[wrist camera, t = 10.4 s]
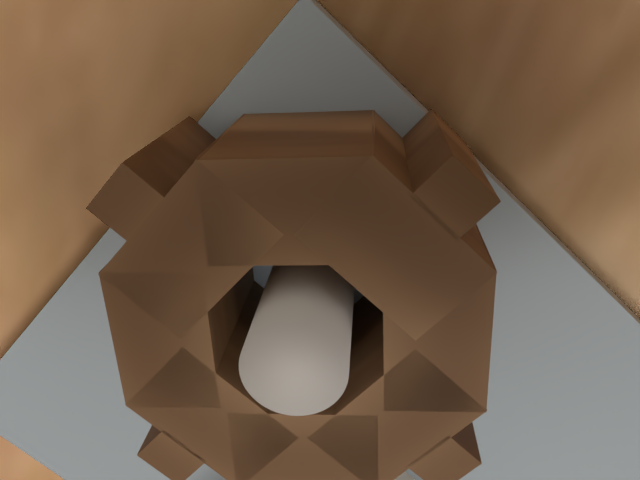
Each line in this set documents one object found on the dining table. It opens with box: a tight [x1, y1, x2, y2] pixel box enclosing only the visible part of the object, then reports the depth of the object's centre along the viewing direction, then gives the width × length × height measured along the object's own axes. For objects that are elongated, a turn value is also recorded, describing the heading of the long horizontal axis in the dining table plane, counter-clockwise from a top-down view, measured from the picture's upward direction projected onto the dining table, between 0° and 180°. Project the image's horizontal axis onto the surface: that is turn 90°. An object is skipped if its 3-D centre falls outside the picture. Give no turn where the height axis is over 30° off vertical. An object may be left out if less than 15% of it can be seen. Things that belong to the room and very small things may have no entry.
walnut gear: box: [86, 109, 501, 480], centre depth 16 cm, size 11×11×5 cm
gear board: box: [0, 0, 640, 480], centre depth 19 cm, size 19×19×8 cm
